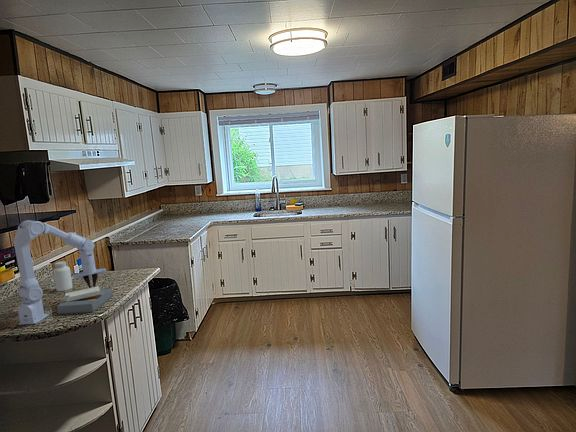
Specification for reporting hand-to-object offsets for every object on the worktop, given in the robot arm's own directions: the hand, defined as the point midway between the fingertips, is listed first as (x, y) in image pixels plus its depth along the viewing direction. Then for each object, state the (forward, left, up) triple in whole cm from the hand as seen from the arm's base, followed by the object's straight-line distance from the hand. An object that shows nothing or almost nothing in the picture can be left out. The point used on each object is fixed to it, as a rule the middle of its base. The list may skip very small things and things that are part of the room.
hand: (92, 289), depth 193 cm
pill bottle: (+18, +25, -5) cm, 31 cm away
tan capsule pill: (-9, -4, -4) cm, 11 cm away
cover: (-7, +1, -1) cm, 7 cm away
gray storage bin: (-8, -1, -5) cm, 9 cm away
